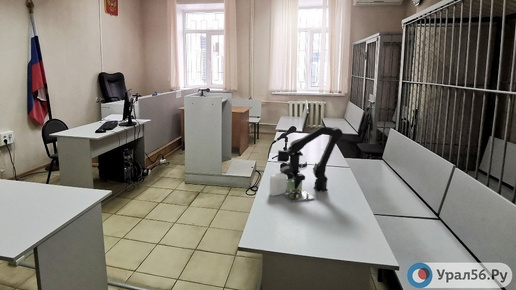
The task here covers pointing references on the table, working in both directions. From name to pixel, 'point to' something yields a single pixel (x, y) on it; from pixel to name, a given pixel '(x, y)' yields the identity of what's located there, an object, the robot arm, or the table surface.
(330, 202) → the table surface
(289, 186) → the block
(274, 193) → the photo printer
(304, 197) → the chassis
